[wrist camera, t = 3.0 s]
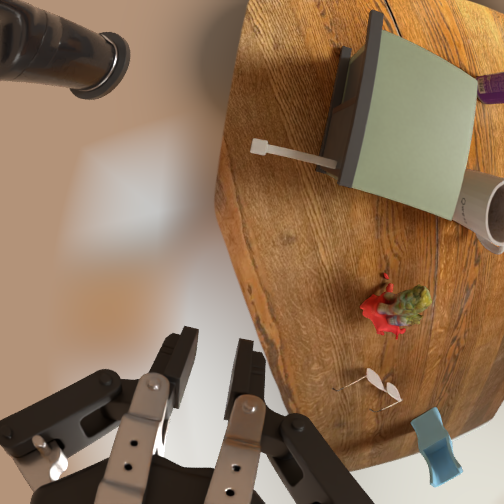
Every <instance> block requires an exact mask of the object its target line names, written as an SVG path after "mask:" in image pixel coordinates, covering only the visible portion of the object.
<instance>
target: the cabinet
mask: <svg viewBox="0 0 504 504" xmlns="http://www.w3.org/2000/svg"><path fill="white" fill-rule="evenodd" d="M383 16H384V14H383V13H380V12H378V11H375V10H371V11H370V12H369V20H368V27H367V35H366V42H365V44H364V45H363V46H362V47H361V48H360V49H359V50H358V51H357V52H356V53H355V54H354V55H353V57H352V58H350V55H351V50H352V49H351V48H348V47H345V46H342V48H341V51H340V57H339V62H338V68H337V73H336V78H335V83H334V89H333V94H332V98H331V103H330V108H329V113H328V118H327V122H326V127H325V131H324V136H323V140H322V145H321V149H320V154H319V156H320V157H323V154H324V149H325V145H326V140H327V136H328V131H329V127H330V122H331V118H332V111H333V108H335V107H337V106H339V105H340V104H342V103H344V102H346V101H348V100H350V99H351V98H353V97H355V96H356V100H355V105H354V110H353V115H352V120H351V125H350V129H349V134H348V138H347V143H346V147H345V152H344V156H343V160H342V164H341V168H340V173H339V177H336V176H335V175H333V174H331V173H328V172H326V171H324V170H322V169H320V165H318V164H317V167H316V171H317V172H321V173H324V174H327V175H329V176H331V177H333V178H335V179H337V180H338V181H337V184H339V185H342V186H345V187H349V188H355V189H358V190H362V191H365V192H368V193H372V194H375V195H378V196H381V197H385V198H388V199H391V200H394V201H397V202H400V203H403V204H406V205H409V206H412V207H415V208H418V209H420V210H423V211H426V212H429V213H431V214H434V215H437V216H440V217H442V218H445V219H447V220H450V221H452V218H453V214H454V211H455V208H456V204H457V201H458V197H459V193H460V190H461V186H462V182H463V178H464V173H465V169H466V164H467V160H468V155H469V149H470V144H471V138H472V132H473V125H474V117H475V109H476V98H477V85H478V81H477V80H476V79H474V78H473V77H471V76H470V75H468V74H467V73H465V72H464V71H462V70H461V69H459V68H457V67H456V66H454V65H453V64H451V63H449V62H448V61H446V60H444V59H442V58H441V57H439V56H437V55H435V54H433V53H432V52H430V51H428V50H426V49H424V48H422V47H420V46H418V45H416V44H414V43H412V42H410V41H408V40H406V39H403V38H401V37H399V36H397V35H394V34H392V33H390V32H387V31H385V30H382V26H383Z"/></svg>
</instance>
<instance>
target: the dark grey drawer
mask: <svg viewBox="0 0 504 504" xmlns="http://www.w3.org/2000/svg"><path fill="white" fill-rule="evenodd" d="M355 100H356V96H355V97H353V98H351V99H350V100H348V101H346V102H344V103H342V104H340V105H339V106H337V107H335V108H333V111H332V118H331V122H330V127H329V131H328V136H327V140H326V145H325V149H324V154H323V157H320V156H316V155H312V154H308V153H304V152H300V151H296V150H292V149H287V148H283V147H278V146H274V145H269V144H268V141H266V140H261V139H256V138H253V140H252V144H251V149H250V153H254V154H259V155H265V154H266V153H271V154H276V155H280V156H285V157H289V158H293V159H297V160H302V161H306V162H310V163H314V164H318V165H320V169H322V170H324V171H326V172H328V173H331V174H333V175H335V176H336V177H339V173H340V168H341V164H342V160H343V156H344V152H345V147H346V143H347V138H348V134H349V129H350V125H351V120H352V115H353V110H354V105H355Z"/></svg>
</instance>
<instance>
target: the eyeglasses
mask: <svg viewBox="0 0 504 504" xmlns="http://www.w3.org/2000/svg"><path fill="white" fill-rule="evenodd" d="M365 377H367V379H368V381H369V382H370V383H372V384H373V385H375V386H376V387H377V388H379V389H381V390H384V387H383V384H382V382H381V380H380V378H379V376H378V375H377V374H376V373H375V372H374V371H373V370H371V369H369V368H367V376H364V377H362V378H360V379H358V380H357V381H359V380H361V379H363V378H365ZM357 381H355V382H357ZM355 382H353V383H355ZM353 383H351V384H353ZM351 384H349V385H351ZM349 385H347V386H349ZM347 386H346V387H347ZM343 388H345V387H343ZM343 388H342V389H343ZM332 389H333V390H335V389H334V388H332ZM342 389H340V390H342ZM340 390H335V391H340ZM386 390H387V391H386ZM384 391H385V392H388V393H389V395H390V396H392V397H393V398H395V399H396V400H398V402H401V401H402V399H401V398H400V395H399V392H398V390H397V388H396V387H395V386H394V385H392V384H391V383H389V382H387V386H386V388H385V390H384ZM398 402H396V403H398ZM396 403H394V404H396ZM394 404H392V405H394ZM392 405H390V406H392ZM390 406H388V407H390ZM388 407H386V408H388ZM384 409H385V408H384ZM369 410H371V409H369ZM382 410H383V409H382ZM371 411H373V410H371ZM380 411H381V410H380ZM373 412H375V411H373ZM377 412H379V411H377Z"/></svg>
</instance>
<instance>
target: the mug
mask: <svg viewBox="0 0 504 504" xmlns="http://www.w3.org/2000/svg"><path fill="white" fill-rule="evenodd" d="M452 219H453V220H454V221H456V222H457V223H459V224H461V225H463V226H465V227H466V228H468V229H470V230H472V231H473V232H475V233H476V235H477V237H478V239H479V241H480V242H481V244H482V245H483V246H484V247H485V248H486V249H488V250H489V251H490V252H492V253H494V254H502V253H503V252H504V178H500V177H497V176H493V175H490V174H486V173H482V172H478V171H474V170H470V169H465V173H464V178H463V182H462V186H461V190H460V193H459V197H458V201H457V204H456V208H455V211H454V214H453V218H452ZM488 240H489V241H488ZM491 242H492V243H494V244H495V245H498V246H499V247H497V246H495V245H493V244H492V243H491Z"/></svg>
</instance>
